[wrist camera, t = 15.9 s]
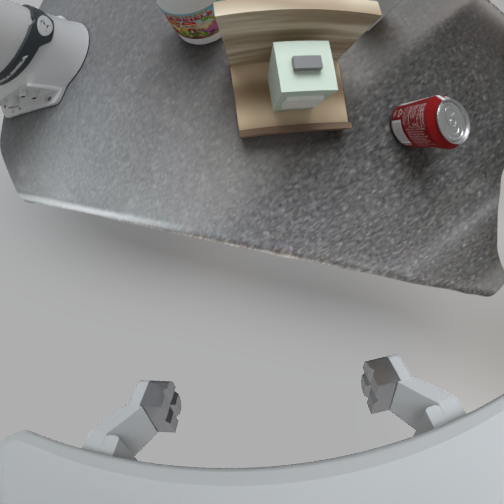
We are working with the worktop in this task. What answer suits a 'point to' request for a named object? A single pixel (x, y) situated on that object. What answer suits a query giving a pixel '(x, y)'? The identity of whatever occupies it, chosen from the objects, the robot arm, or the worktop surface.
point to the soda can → (431, 123)
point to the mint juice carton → (300, 74)
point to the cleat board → (279, 30)
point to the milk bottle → (192, 19)
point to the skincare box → (385, 8)
